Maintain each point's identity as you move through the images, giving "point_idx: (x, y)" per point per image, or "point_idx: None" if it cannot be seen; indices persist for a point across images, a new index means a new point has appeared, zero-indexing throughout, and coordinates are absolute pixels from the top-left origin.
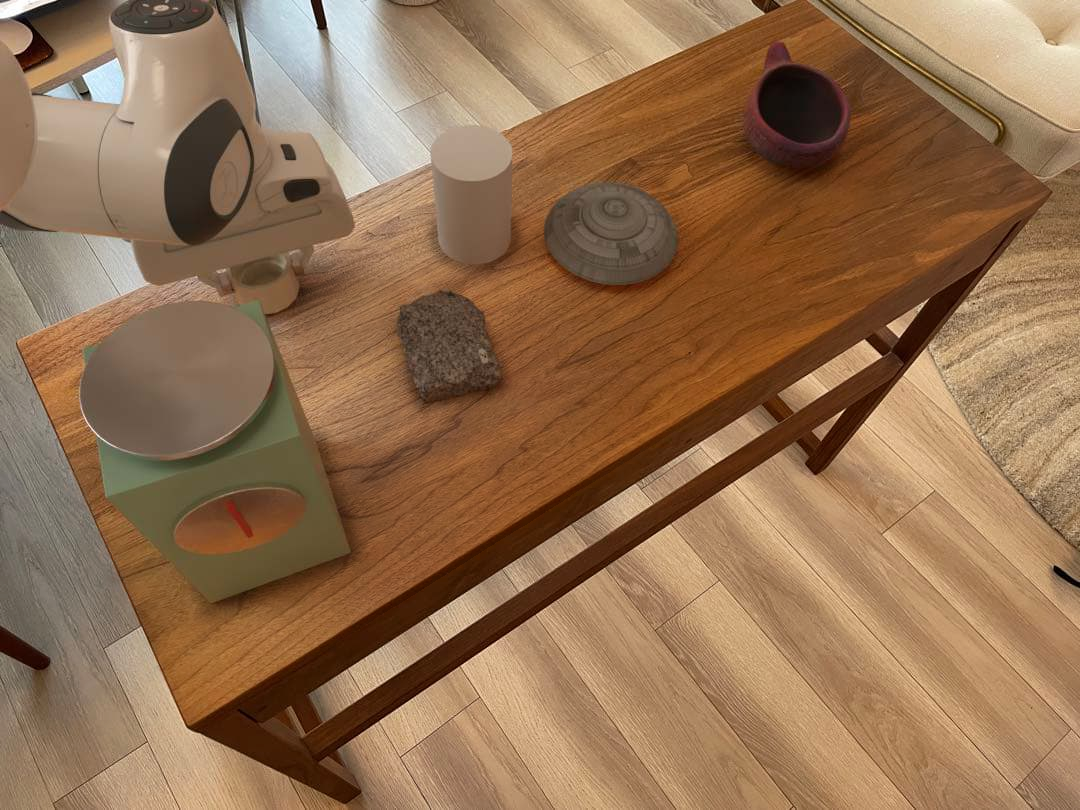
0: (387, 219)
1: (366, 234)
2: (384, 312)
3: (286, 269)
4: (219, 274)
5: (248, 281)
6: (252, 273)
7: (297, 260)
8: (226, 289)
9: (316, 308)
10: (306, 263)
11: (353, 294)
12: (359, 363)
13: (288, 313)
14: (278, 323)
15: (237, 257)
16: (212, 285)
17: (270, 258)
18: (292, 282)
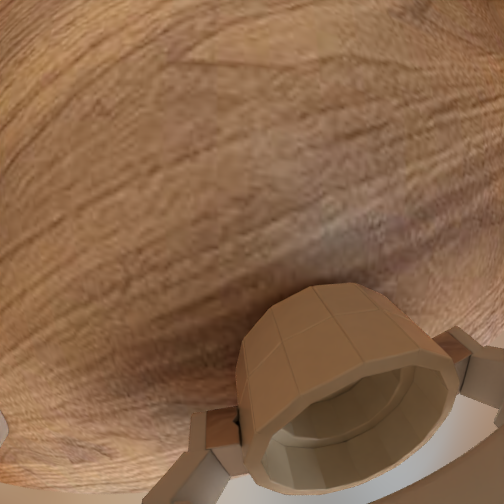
0: (87, 465)
1: (110, 454)
2: (12, 263)
3: (261, 443)
4: (460, 390)
5: (368, 382)
6: (358, 403)
7: (224, 459)
8: (453, 348)
9: (182, 299)
10: (188, 450)
11: (88, 333)
12: (58, 84)
13: (269, 287)
14: (301, 251)
15: (498, 485)
16: (495, 350)
17: (311, 446)
18: (246, 388)
